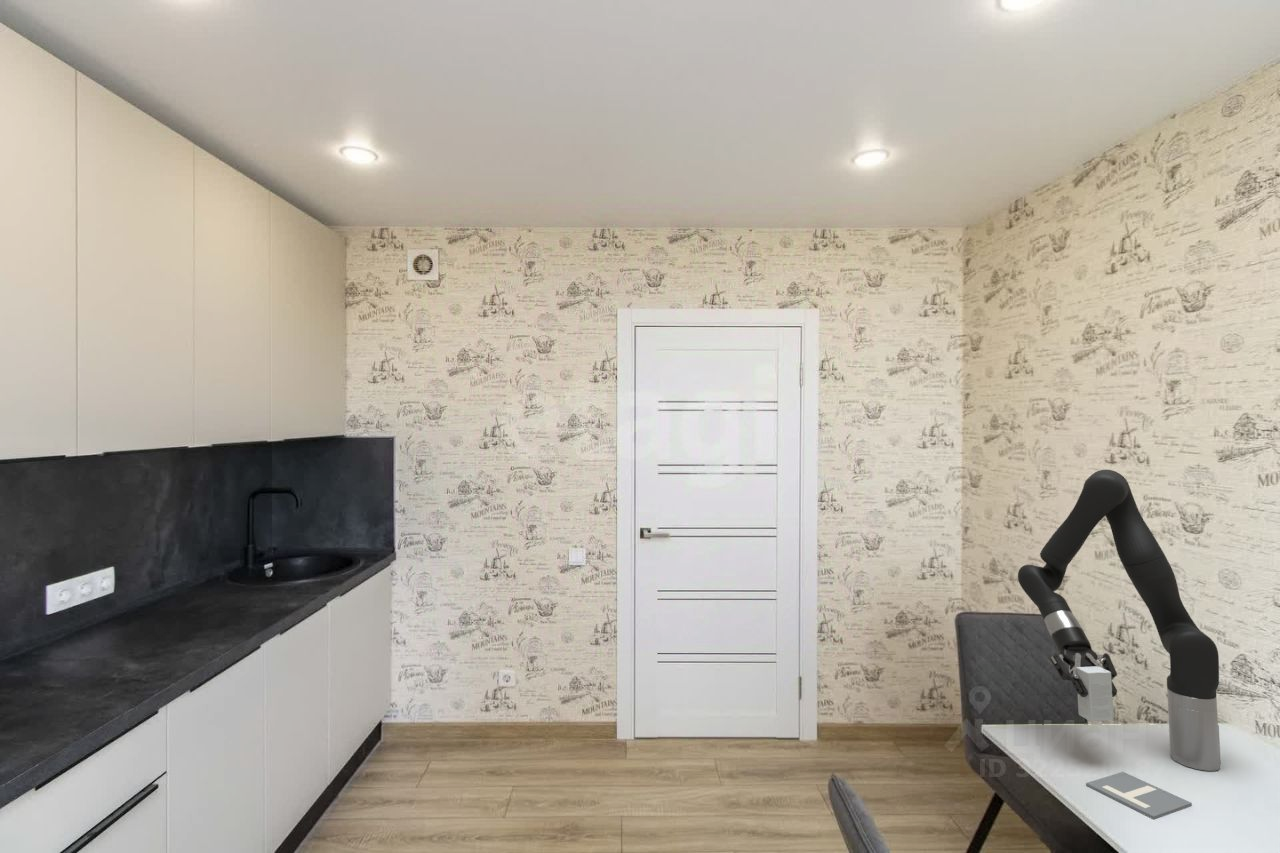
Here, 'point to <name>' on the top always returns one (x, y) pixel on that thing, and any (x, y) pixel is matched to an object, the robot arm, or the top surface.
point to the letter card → (1139, 795)
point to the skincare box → (1096, 694)
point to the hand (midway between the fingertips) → (1099, 695)
